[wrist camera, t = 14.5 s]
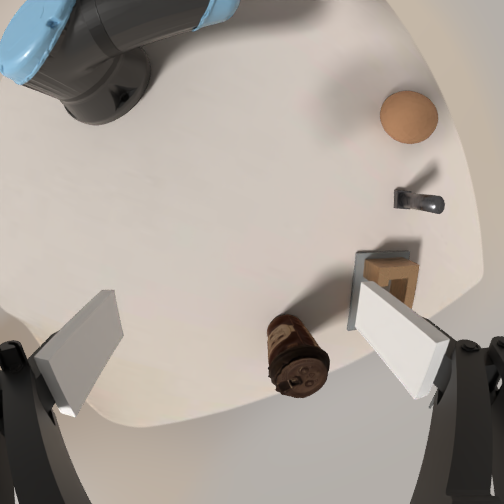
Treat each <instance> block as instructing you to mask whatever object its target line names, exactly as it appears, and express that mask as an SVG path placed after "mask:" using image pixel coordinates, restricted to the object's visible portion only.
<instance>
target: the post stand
mask: <svg viewBox="0 0 504 504" xmlns="http://www.w3.org/2000/svg"><path fill="white" fill-rule="evenodd" d="M444 206H445V203H444V200H443V198H442V197H441V196H435V195H426V194H416V193H411V191H401V190H394V208H399V209H410V208H411V209H416V210H421V211H427V212H432V213H437V214H440V213H442V212H443V210H444Z"/></svg>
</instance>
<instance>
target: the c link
mask: <svg viewBox="0 0 504 504" xmlns="http://www.w3.org/2000/svg"><path fill="white" fill-rule="evenodd" d="M418 271H419V265H418V264H416V263H414V262H412V261H410V260H408V259H406V258H404V257H397V258H378V259H365V262H364V272H363V277H364V278H365V279H367V280H368V281H374V282H375V283H376V284H378V285H379V286H381V287H384V286H388V283H389V280H391V285H390V291H389V293H390V294H392V295H393V296H394V297H396V298H397V299H398V300H400V301H401V302H402V303H404V304H405V305H406V306H408V307H409V308H410V309H412V305H413V300H414V295H415V289H416V284H417V277H418Z"/></svg>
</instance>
